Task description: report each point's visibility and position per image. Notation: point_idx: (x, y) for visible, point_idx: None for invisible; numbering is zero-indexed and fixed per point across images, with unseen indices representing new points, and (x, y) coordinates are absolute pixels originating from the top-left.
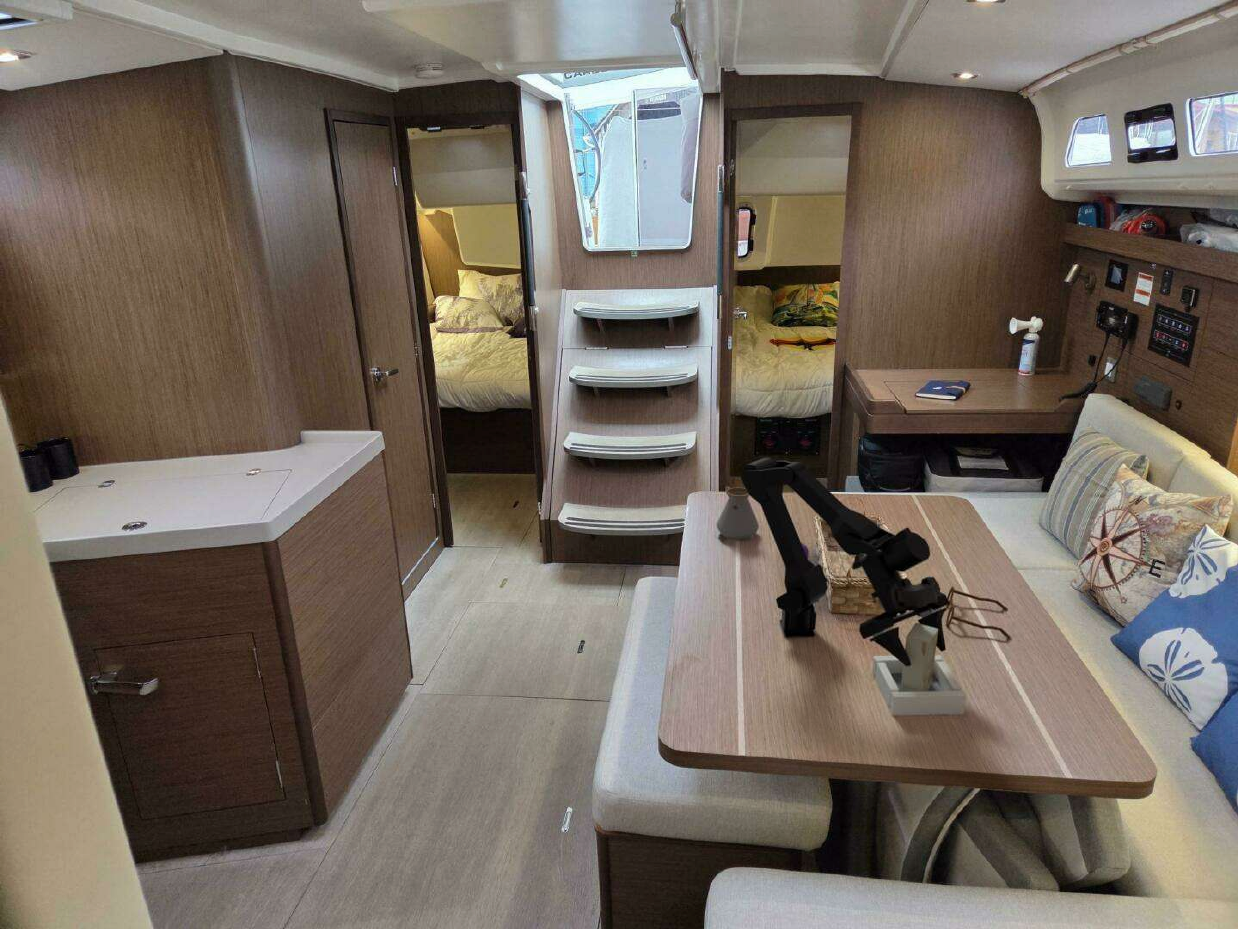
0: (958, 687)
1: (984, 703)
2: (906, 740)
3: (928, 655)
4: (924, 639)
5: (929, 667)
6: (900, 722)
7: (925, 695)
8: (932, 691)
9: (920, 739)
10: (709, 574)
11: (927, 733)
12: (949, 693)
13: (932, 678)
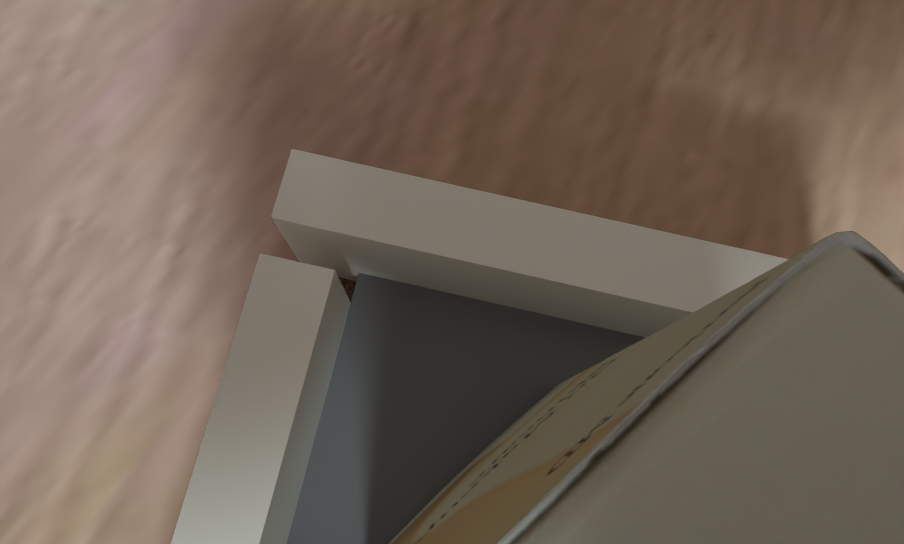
0: (279, 271)
1: (88, 285)
2: (833, 87)
3: (685, 319)
4: None
5: (522, 435)
6: (797, 249)
7: (642, 244)
8: (550, 278)
9: (742, 74)
10: None
11: (670, 111)
12: (416, 213)
13: None
